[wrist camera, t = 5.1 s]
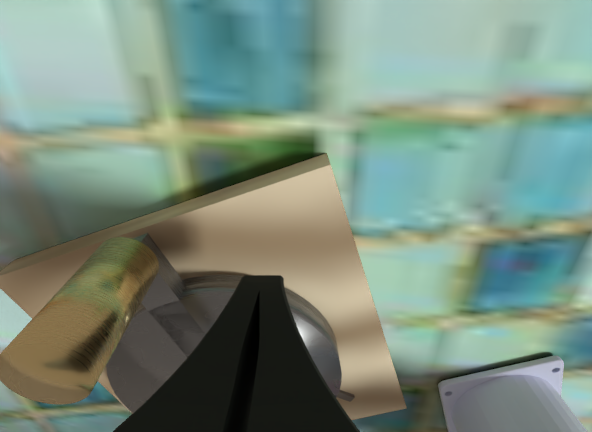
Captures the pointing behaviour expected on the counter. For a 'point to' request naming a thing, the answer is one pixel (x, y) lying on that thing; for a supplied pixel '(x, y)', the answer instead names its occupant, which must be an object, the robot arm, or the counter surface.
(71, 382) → the metal pan with handle
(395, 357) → the counter surface
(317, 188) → the stand
